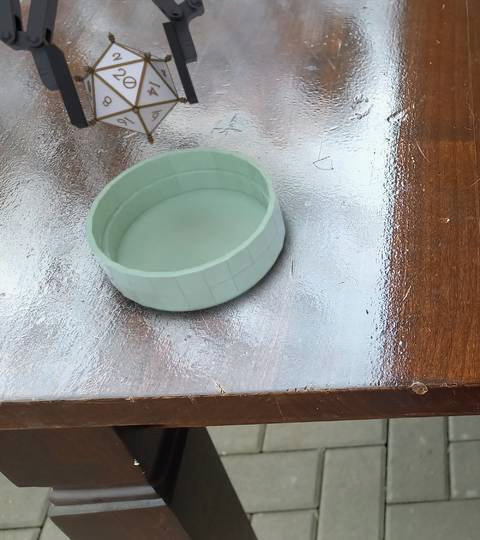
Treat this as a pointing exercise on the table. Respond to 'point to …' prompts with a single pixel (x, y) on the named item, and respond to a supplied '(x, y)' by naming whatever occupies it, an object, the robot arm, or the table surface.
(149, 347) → the table surface
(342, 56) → the table surface
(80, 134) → the table surface
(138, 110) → the game die
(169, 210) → the bowl
